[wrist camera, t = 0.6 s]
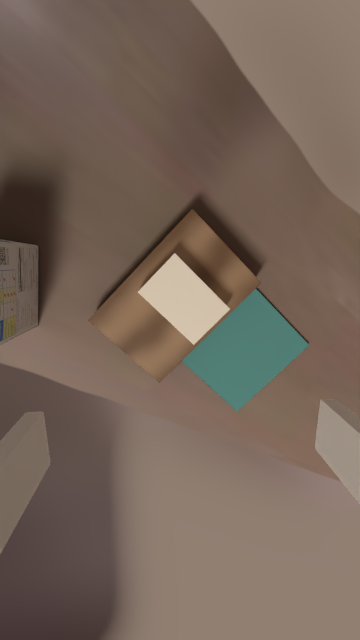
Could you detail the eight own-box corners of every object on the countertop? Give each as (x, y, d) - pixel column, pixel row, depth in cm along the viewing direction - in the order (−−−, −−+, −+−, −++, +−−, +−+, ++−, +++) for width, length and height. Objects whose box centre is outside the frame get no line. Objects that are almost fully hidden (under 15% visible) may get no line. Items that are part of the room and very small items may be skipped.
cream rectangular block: (139, 290, 32) (137, 292, 30) (174, 253, 31) (174, 253, 29) (192, 340, 34) (193, 344, 32) (226, 306, 33) (230, 309, 31)
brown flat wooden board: (94, 315, 35) (87, 320, 32) (190, 213, 33) (192, 208, 30) (160, 373, 37) (159, 382, 35) (253, 281, 35) (261, 282, 32)
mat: (178, 357, 37) (178, 358, 37) (251, 284, 35) (252, 285, 35) (236, 410, 39) (237, 411, 39) (308, 344, 38) (309, 345, 37)
